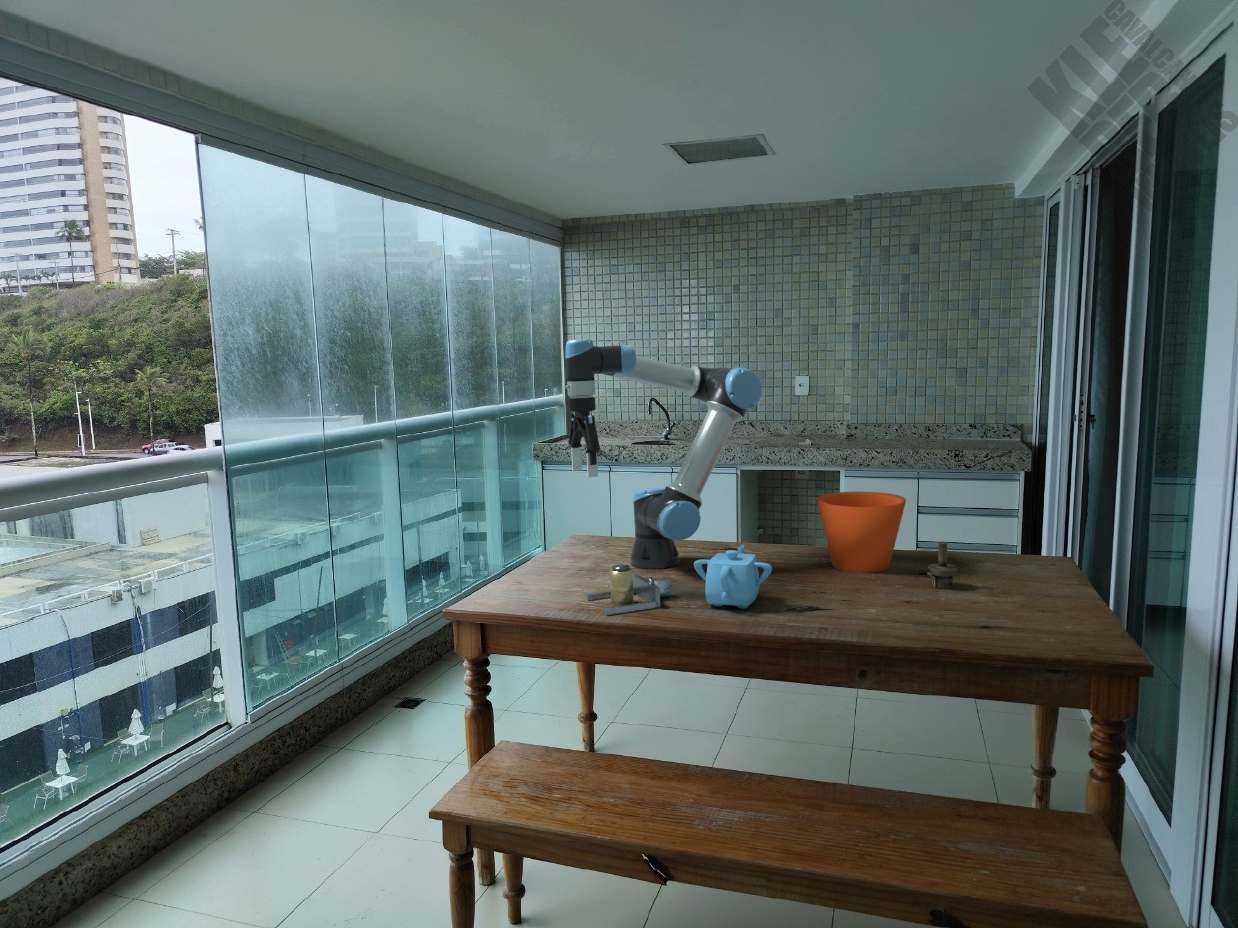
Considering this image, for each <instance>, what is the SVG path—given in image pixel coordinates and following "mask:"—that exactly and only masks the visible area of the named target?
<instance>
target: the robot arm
mask: <svg viewBox="0 0 1238 928" xmlns="http://www.w3.org/2000/svg"><path fill="white" fill-rule="evenodd" d="M564 357H565V365H566V366H565V368H566V385H565V389H567V396H568V397H569V398H568V399H567V410H568V412H571V413H570V422H569V423H570V424H569V433H568V446H569V447H570V448H571V449H570V451H571V454H570V455H571V470H572V472H580V471H583V461H582V458H583V457H582V447H583V445H582V443H581V441H582V438H583V439H584V442H585V446H586V447H585V448H586V450H585V454H586V468H587V471H586V472H587V474H586V475H587V478H596V477H599V472H598V471H599V470H598V467H599V466H598V452H599V451H601V447H600V446H601V445H600V441H599V436H598V431H597V426H596V417H595V415H591V414H590V413H591V412H594V411H595V410H596V409H597V407H596V398H595V397H594V396H595V395H596V382H595V381H596V380H595V375H605V376H609V377H615V378H618V379H622V380H623V379H624V380H627V381H632V382H636V383H641V384H646V385H650V386H652V387H653V386H655V387H658V388H664V389H666V390H667V389H668V390H672V391H676V392H680V393H684V394H685V396H686V397H687V398H693V399H696V400H699V401H702V402H705V403H706V405H707V408H708V411H707V413H706V415H705V417H704V419H703V420H702V423H701V425H700V427H699V429H698V431H697V434H696V435H695V438H694V440H693V442H692V443H691V445H690V448H689V450H688V452H687V453H686V456H685V458H684V460H683V462H682V465H681V466H680V469H679V470H678V473H677V474H676V477H675V479H674V481H673V482H672V483H669V484H667V485H666V486H665V487H657V488H655V487H654V488H646V489H639V490H636V491H635V492H634V493H633V502H632V503H633V515H634V517H633V519H634V541H633V546H632V549H631V552H630V556H629V561H630V562H629V563H630V565H631V566H633V567H636V568H642V569H664V568H670V567H671V568H672V567H674V566H676V565H679V564H680V554H679V553H680V552H679V551H678V548H677V545H676V542H675V541H682V540H684V541H685V540H686V539H689V538H691V537H692V536H693V535H694V534H696V533H697V530H698V529H699V527H700V523H701V520H702V518H701V515H700V511H699V510H700V509H701V507H702V505H703V501H702V498H701V494H702V492H703V490H704V489H705V487H706V484H707V482H708V480H709V478H710V476H711V474H712V471H713V469H714V467H715V466H716V463H717V462H718V459H719V457H720V454H721V452H722V450H723V448H724V447H725V445H726V443H727V441H728V438H729V436H730V434H731V432H732V430H733V428H734V426H735V424H736V422H740V421H742V420H743V419H744V417H745V415H746V413H747V410H749V409H752V408H753V407H755V406H756V405H757V404H758V403H759V401H760V400H761V398H762V392H763V387H762V384H761V380H760V377H759V376H758V375H757V374H756V373H755V372H754V371H753V370H751V369H749V368H744V367H740V366H739V367H738V366H736V367H701V366H697V365H693V366H691V367H688V366H686V367H685V366H682V365H678V364H673V363H669V362H665V361H660V360H657V359H652V358H647V357H644V356H640V355H637V354H636V351H635V349H634V347H633V346H631V345H624V344H623V345H622V344H621V345H604V346H603V345H602V346H596V345H594V342H593V340H592V339H590V338H589V339H587V338H586V339H570V340H567V341H566V343H565V356H564Z"/></svg>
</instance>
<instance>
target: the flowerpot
mask: <svg viewBox="0 0 1238 928" xmlns="http://www.w3.org/2000/svg"><path fill="white" fill-rule="evenodd" d="M906 501H907V499H906V498H905V497H904V496H901V495H898V494H893V493H886V492H880V491H879V492H878V491H838V492H831V493H829V492H828V493H826V494H821V495H819V496H817V497H816V502H817V503H816V504H817V508H818V511H819V515H820V520H821V524H822V528H823V532H824V536H825V541H826V545H827V549H828V552H829V556H830V561H831V564H832V567H834V568H835V569H838V570H840V571H845V572H850V573H851V572H852V573H864V574H865V573H877V572H883V571H886V570H888V569H889V568H890V566H891V561H892V557H893V555H894V550H895V546H896V542H897V539H898V538H897V537H898V533H899V530H900V526H901V521H902V519H903V518H902V517H903V515H904V514H903V513H904V510H905V507H906V503H907V502H906Z"/></svg>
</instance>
